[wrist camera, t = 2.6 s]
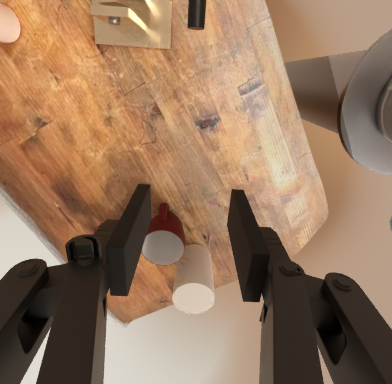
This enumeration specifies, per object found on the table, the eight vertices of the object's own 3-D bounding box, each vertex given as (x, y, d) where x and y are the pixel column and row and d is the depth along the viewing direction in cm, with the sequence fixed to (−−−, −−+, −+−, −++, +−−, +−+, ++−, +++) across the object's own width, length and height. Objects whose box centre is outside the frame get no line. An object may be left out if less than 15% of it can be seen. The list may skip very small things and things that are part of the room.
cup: (181, 240, 57) (178, 279, 47) (215, 248, 58) (220, 288, 48) (173, 267, 61) (168, 309, 50) (205, 274, 62) (207, 317, 51)
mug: (143, 196, 53) (132, 220, 44) (181, 191, 52) (178, 215, 43) (153, 237, 57) (145, 268, 48) (189, 233, 57) (187, 263, 48)
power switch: (172, -19, 38) (162, -61, 26) (171, 50, 42) (162, 40, 30) (92, -25, 38) (45, -70, 26) (98, 44, 41) (59, 32, 30)
